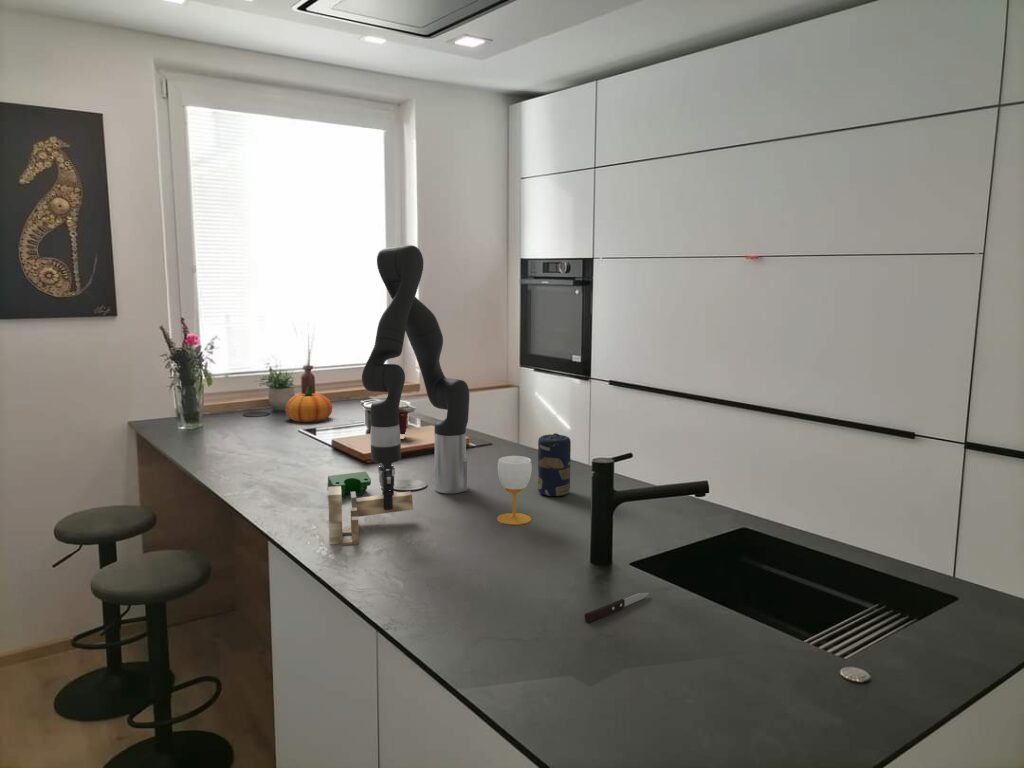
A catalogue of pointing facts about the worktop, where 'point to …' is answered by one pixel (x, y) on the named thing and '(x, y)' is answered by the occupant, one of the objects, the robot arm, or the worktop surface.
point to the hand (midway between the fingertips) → (387, 507)
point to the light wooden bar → (381, 503)
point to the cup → (514, 484)
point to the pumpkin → (308, 407)
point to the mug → (402, 420)
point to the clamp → (350, 482)
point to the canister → (554, 464)
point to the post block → (340, 519)
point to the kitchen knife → (613, 607)
